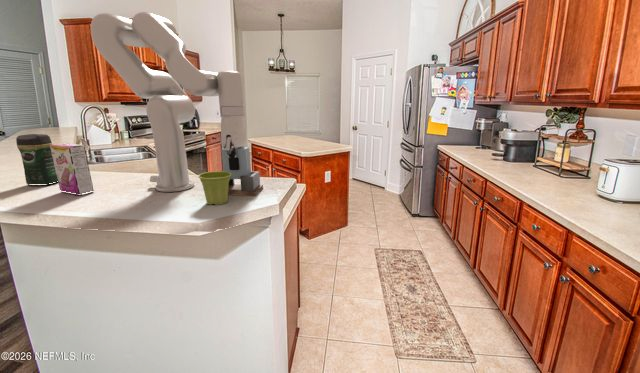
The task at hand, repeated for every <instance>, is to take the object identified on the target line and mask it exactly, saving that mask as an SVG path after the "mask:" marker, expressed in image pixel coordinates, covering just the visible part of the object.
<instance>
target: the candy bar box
mask: <svg viewBox="0 0 640 373" xmlns="http://www.w3.org/2000/svg"><path fill="white" fill-rule="evenodd" d="M50 149H51V154H52V158H53V162H54V166H55V170H56V174H57V179H58V183H57V184H58V186H59V191H60V190H61V191H66V192H71V193H76V194H82V193H86V192H90V191H95V190H94V186H93V181H92V176H91V171H90V166H89V162H88V156H87V151H86V146H85V145H84V144H76V143H67V142H63V143H60V142H59V143H52V145H50Z"/></svg>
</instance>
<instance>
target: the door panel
mask: <svg viewBox="0 0 640 373" xmlns="http://www.w3.org/2000/svg"><path fill="white" fill-rule="evenodd" d="M231 148H234V147H231ZM220 150H221V151H220V152H221V159H222V160H221V162H222V168H223V170H222V171H224V172H229V173H231V176H230V179H234V180H240V176H251V171H252V169H251V168H252V166H251V154H250V146H249V147H248V146H247V147H246V146H245V147H244V146H243V147H239V148H237V158H239V168H240V169H239V170H230V169H229V158H228V154H227V152H226V149H223V148H221V149H220ZM232 151H234V150H232ZM234 153H235V151H234Z"/></svg>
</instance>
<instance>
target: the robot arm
mask: <svg viewBox="0 0 640 373" xmlns="http://www.w3.org/2000/svg"><path fill="white" fill-rule="evenodd" d="M90 35H91V39H92V42H93V44H94V46H95V48H96V49H97V51H98V52H99V54H100V55H101V56H102V58H104V59H105V60H106V62H107V63H108V64H109V65H110V66H111V67H112V68H113V69H114V70H115V72H116V73H117V74H118V75H119V77H120V78H121V79H122V80H123V82H124V83H125V84H126V85H127V86H128V88H129V89H130V90H131V92H133V93H134V95H136V96H137V97H139V99H140V98H141V99H146V100H148V102H147V104H146V107H145V108H146V109H145V110H146V115H147V116H146V117H147V119H148V121H149V124H150V127H151V131H152V132H151V133H152V137H153V144H154V150H155V157H156V165H157V171H158V175H151V176H150V178H149V182H150V183H156V185H155V190H156V191H158V192H163V193H164V192H165V193H172V192H181V191H186V190H189V189H191V188H194V187H195V182H194V181H192V180H190V176H189V168H188V160H187V151H186V142H185V136H184V133H183V130H182V127H181V126H180V124H183V123H187V122H190V121H192V120H193V118H194V117H195V115H196V107H195V104H194V102H193V100H192V99H191V98H190V97H189V95H188V94H187V93H189V94H190V95H193V96H196V97H218V103H219V114H220V115H219V116H220V118H221V119H220V136H221V137H220V139H221V147H222V148H221V149H226V152H227V154H228V158H229V169H230V170H239V169H240V168H239V158H237V148H239V147H244V146H245V144H246V132H245V124H244V117H245V115H246V114H245V104H244V90H243V78H242V74H241V73H240V72H239V71H237V70H236V71H235V70H224V71H219V72H214V71H208V70H207V71H206V70H201V69H198V68H197V67H196V66H195V65H193V64H192V63H191V62H190V61H189V60H188V59H187V57H186V56H185V54H186V51H187V48H186V44H185V42H184V41H183V40H181V39H180V38H179V37H178V33H177V30H176V27H175V25H174V24H173V23H172V21H170V20H169V19H167V18H165V17H164V16H163V17H162V16H160V15H157V14H154V13H151V12H148V11H147V12H146V11H141V12H138V13H136V14H134V15H133V17H132V19H131V18H128V17H125V16H121V15H117V14H115V13H99V14H96V15H95V16H94V17H93V18H92V20H91V23H90ZM128 46H129V47H135V48H150V49H151V50H152V51H153V52H154V53H155V54H156V55H157V56H158V57H159V58H160V59H161V60H162V61H163V62H164V64H165V68H166V70H167V72H168V73H167V72H165V71H162V70H155V69H151V68H149V67H148V66H147V65H146V64H145V63H144V62H143V60H142V59H141V58H140V57H139V56H138V54H136V53H135V52H134V51H133V50H131V48H129V47H128ZM185 91H186V92H187V93H186V92H185ZM231 147H234V148H231ZM232 150H234V151H235V153H234V151H232Z"/></svg>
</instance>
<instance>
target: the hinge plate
mask: <svg viewBox="0 0 640 373" xmlns="http://www.w3.org/2000/svg"><path fill="white" fill-rule="evenodd" d="M234 184H235V183H234ZM262 190H264V184H260V186H259V187H258V188H257V189H256V190H255V191H241V183H240V184H239V183H237V184H235V185H234V186H229V187H228V196H251V197H252V196H253V197H255V196H257V195H259V193H260V192H261V191H262Z"/></svg>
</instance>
